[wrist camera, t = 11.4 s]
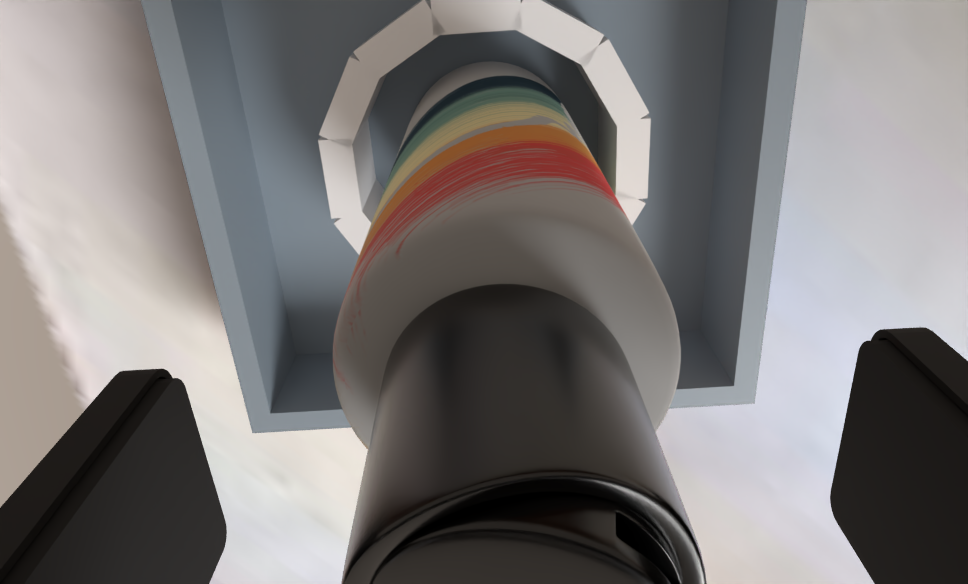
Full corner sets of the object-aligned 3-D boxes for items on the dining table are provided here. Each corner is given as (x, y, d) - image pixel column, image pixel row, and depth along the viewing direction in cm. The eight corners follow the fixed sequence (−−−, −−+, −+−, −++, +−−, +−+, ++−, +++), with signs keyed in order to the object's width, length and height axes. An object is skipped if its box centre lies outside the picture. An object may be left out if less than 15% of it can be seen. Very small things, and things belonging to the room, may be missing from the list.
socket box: (758, -176, 21) (833, -210, 17) (711, 333, 29) (754, 403, 25) (177, -134, 22) (100, -156, 17) (286, 359, 30) (252, 432, 25)
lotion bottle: (600, 159, 25) (922, 697, 7) (472, 246, 26) (467, 878, 8) (509, 22, 23) (631, 286, 5) (375, 124, 24) (96, 618, 6)
